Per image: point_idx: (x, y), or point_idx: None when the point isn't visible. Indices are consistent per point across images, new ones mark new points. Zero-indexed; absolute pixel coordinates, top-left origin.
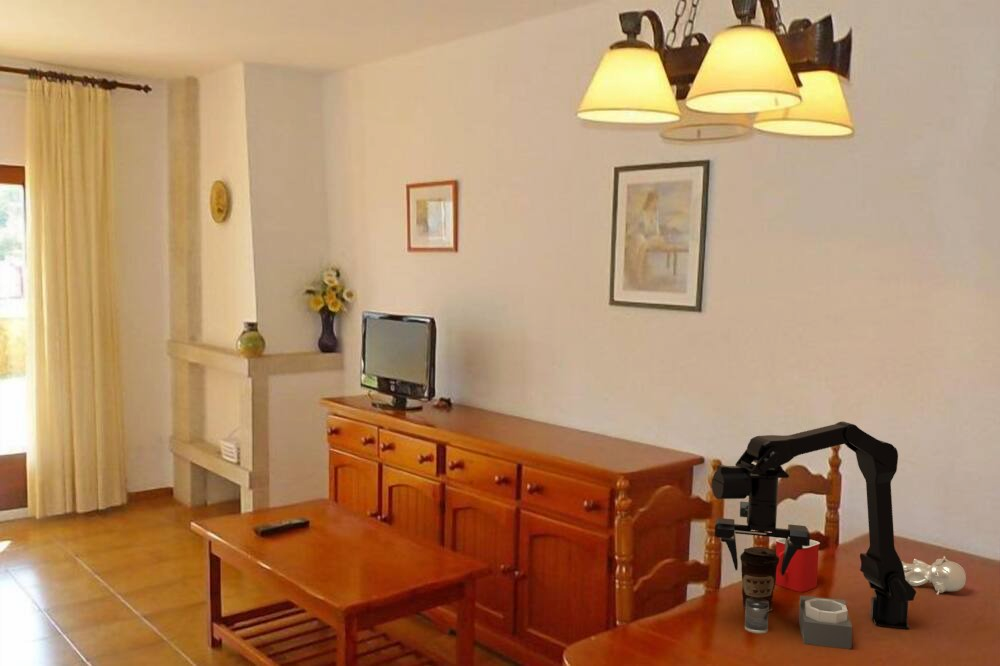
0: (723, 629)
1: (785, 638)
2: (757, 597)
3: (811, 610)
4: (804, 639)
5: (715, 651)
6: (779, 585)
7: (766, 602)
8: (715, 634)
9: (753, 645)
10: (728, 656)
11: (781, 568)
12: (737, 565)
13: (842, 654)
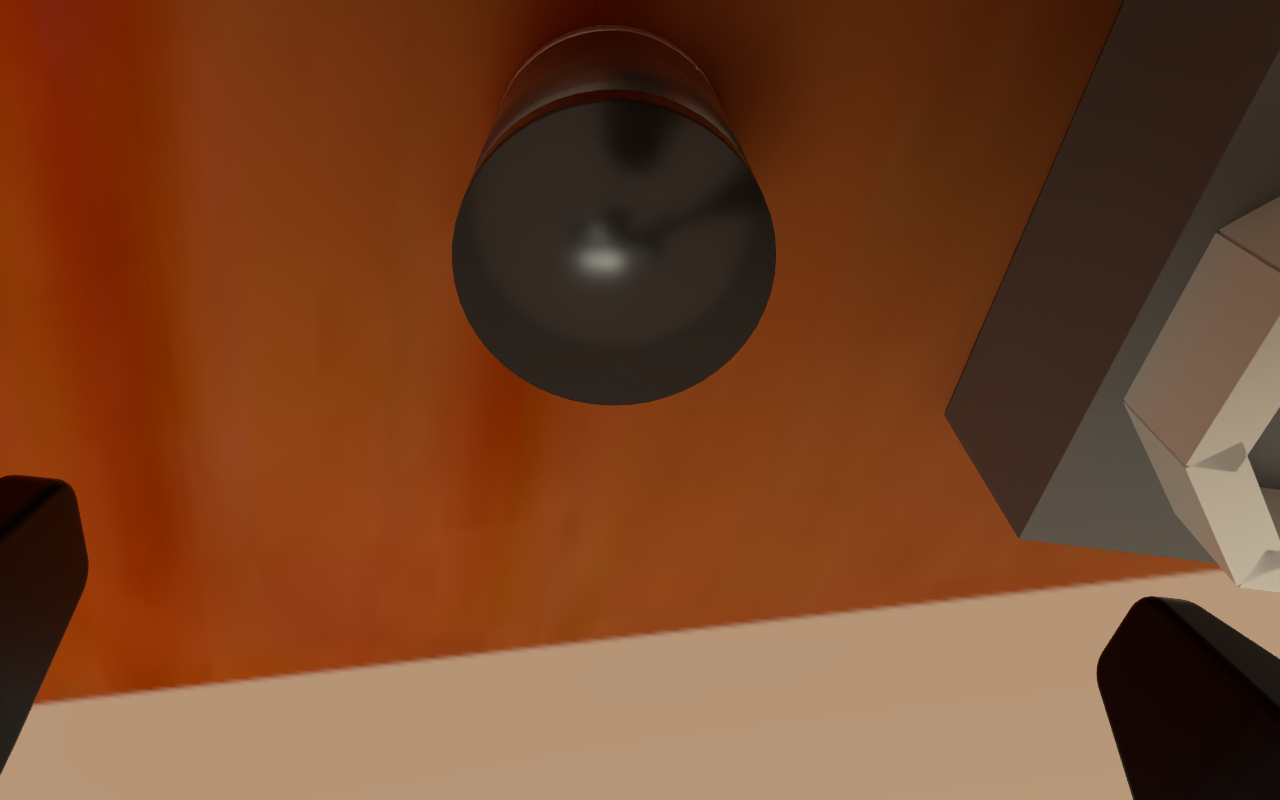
0: (273, 203)
1: (833, 331)
2: (651, 116)
3: (1192, 504)
4: (962, 437)
5: (231, 610)
6: None
7: (733, 311)
8: (203, 330)
9: (522, 491)
10: (325, 660)
11: (1220, 682)
12: (13, 743)
13: None
